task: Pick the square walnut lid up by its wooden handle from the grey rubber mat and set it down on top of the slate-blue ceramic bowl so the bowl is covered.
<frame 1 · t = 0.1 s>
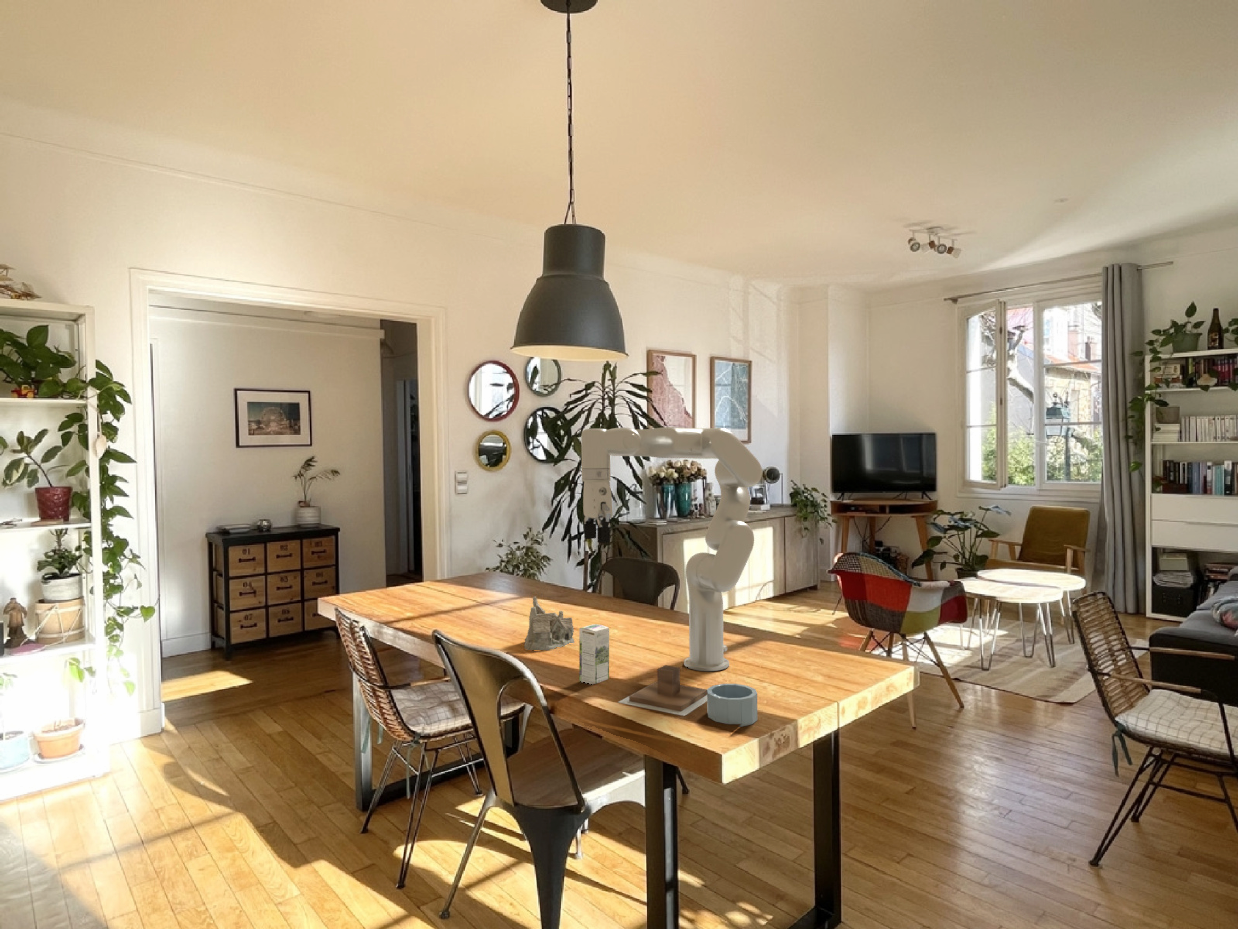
hand: (596, 540, 198), 37 cm above the table, tool pointing down, fingers open, 9 cm apart
grey mat: (668, 700, 183), on the table
syrup box: (594, 682, 198), on the table
walnut lid: (668, 697, 183), point 1 cm above the table, touching grey mat
slate bowl: (732, 717, 171), on the table
ceramic cottage: (549, 645, 237), on the table
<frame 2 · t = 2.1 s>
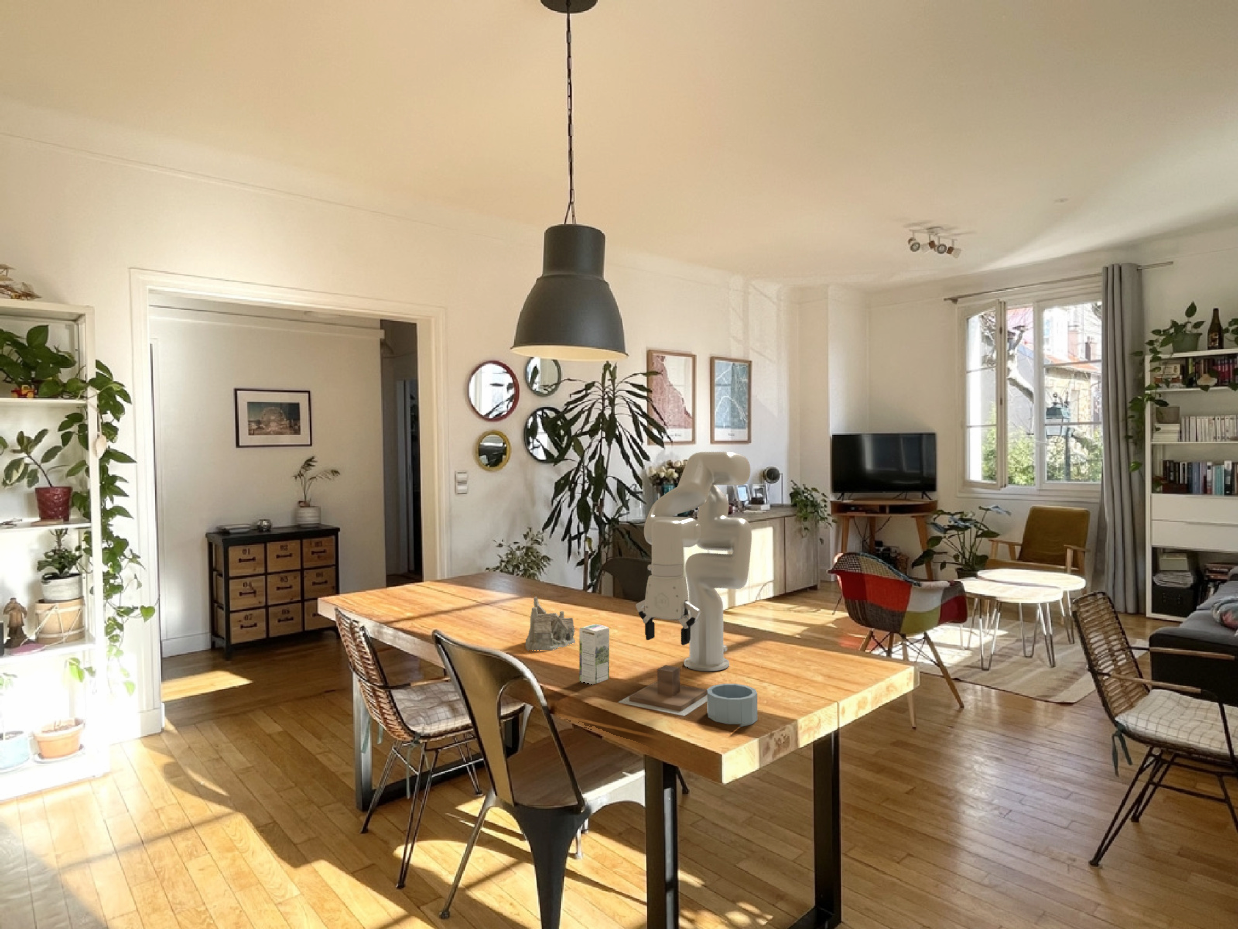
hand: (667, 641, 182), 14 cm above the table, tool pointing down, fingers open, 9 cm apart
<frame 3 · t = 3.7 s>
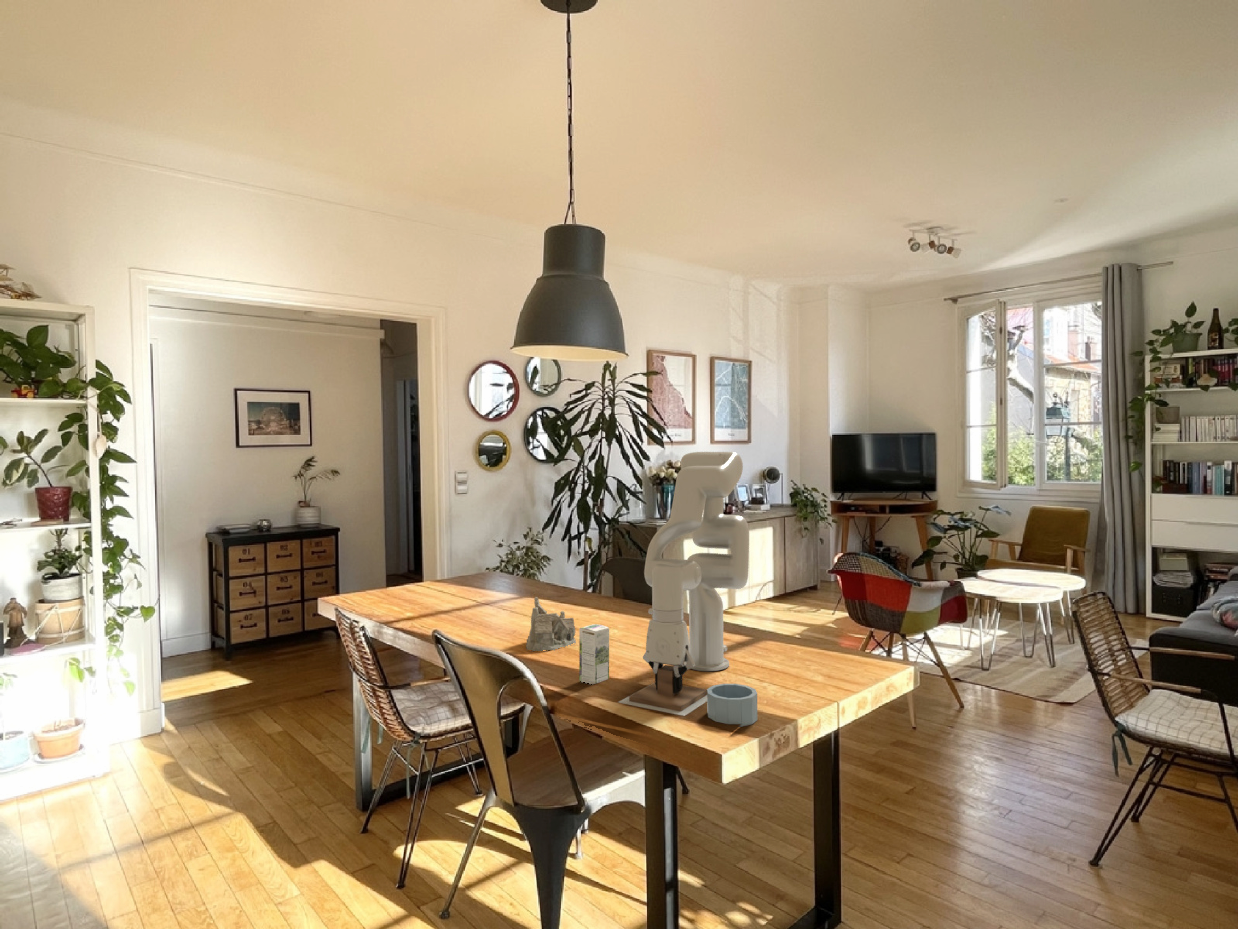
hand: (668, 689, 183), 3 cm above the table, tool pointing down, fingers closed on walnut lid, 4 cm apart
walnut lid: (668, 697, 183), point 1 cm above the table, touching grey mat, gripper
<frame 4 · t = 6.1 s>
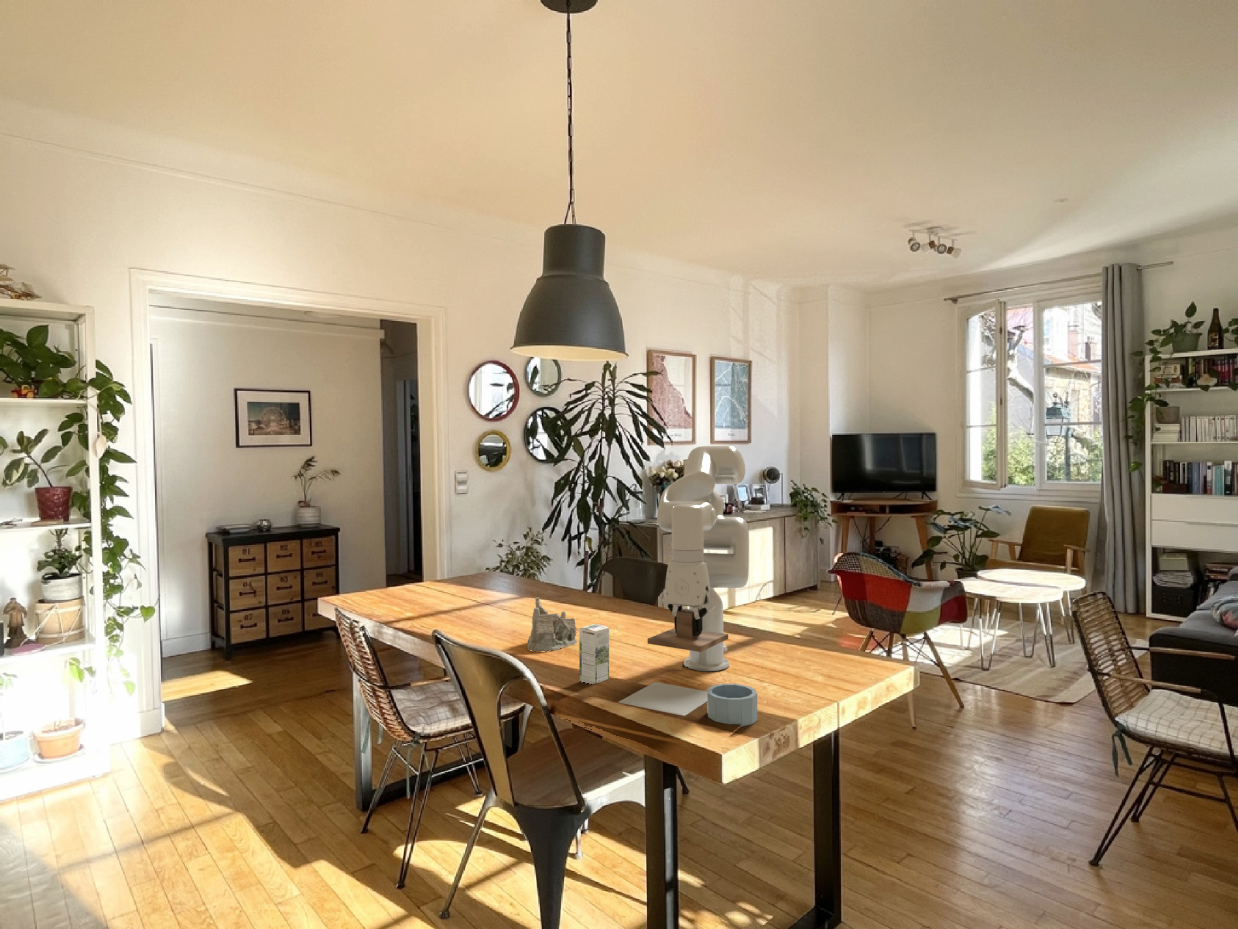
hand: (688, 632, 178), 18 cm above the table, tool pointing down, fingers closed on walnut lid, 4 cm apart
walnut lid: (688, 641, 178), point 15 cm above the table, touching gripper
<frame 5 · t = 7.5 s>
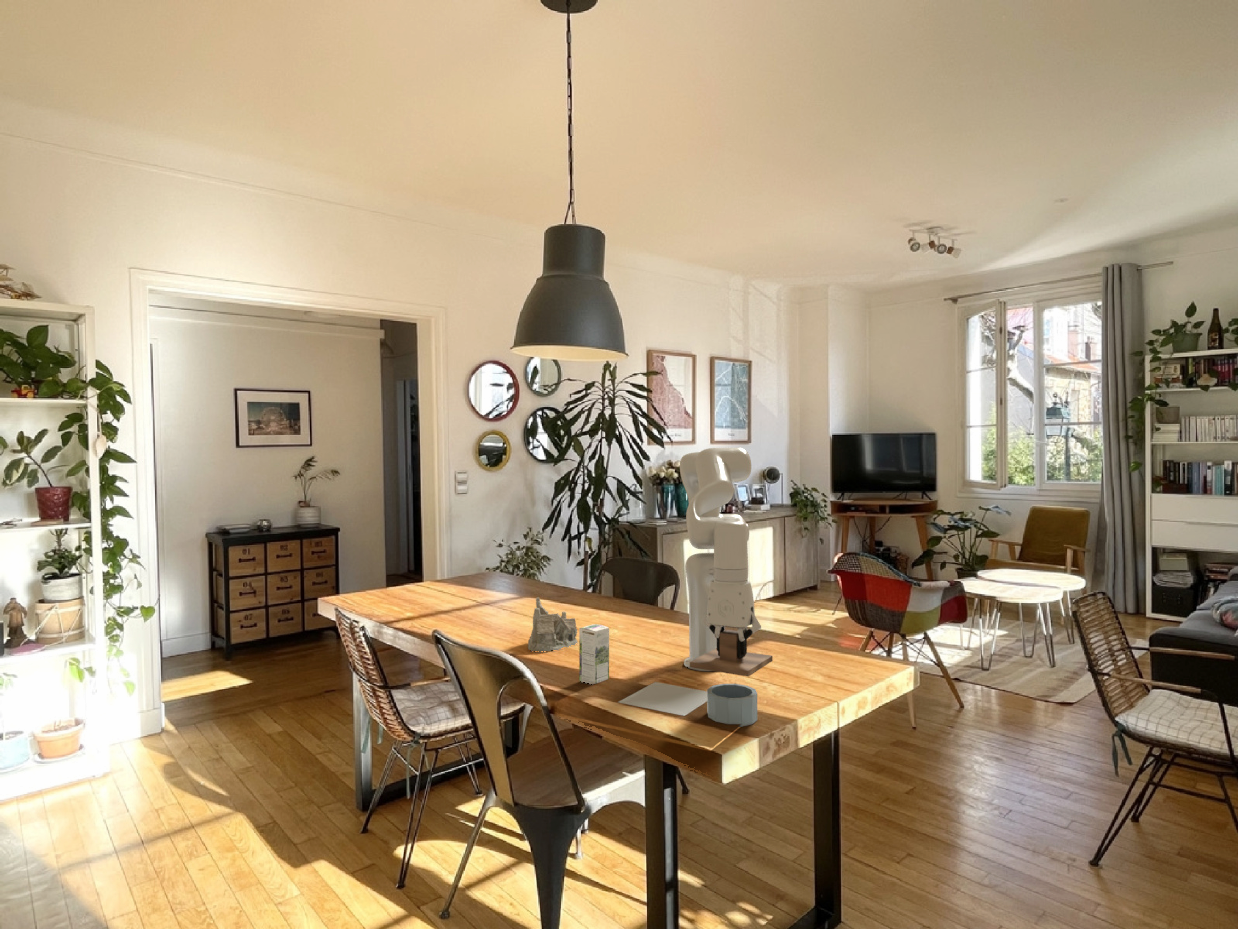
hand: (731, 655, 170), 14 cm above the table, tool pointing down, fingers closed on walnut lid, 4 cm apart
walnut lid: (731, 664, 170), point 12 cm above the table, touching gripper
when the fingers open (9 cm above the table, at t = 8.6 s): walnut lid drops 1 cm, resting on slate bowl.
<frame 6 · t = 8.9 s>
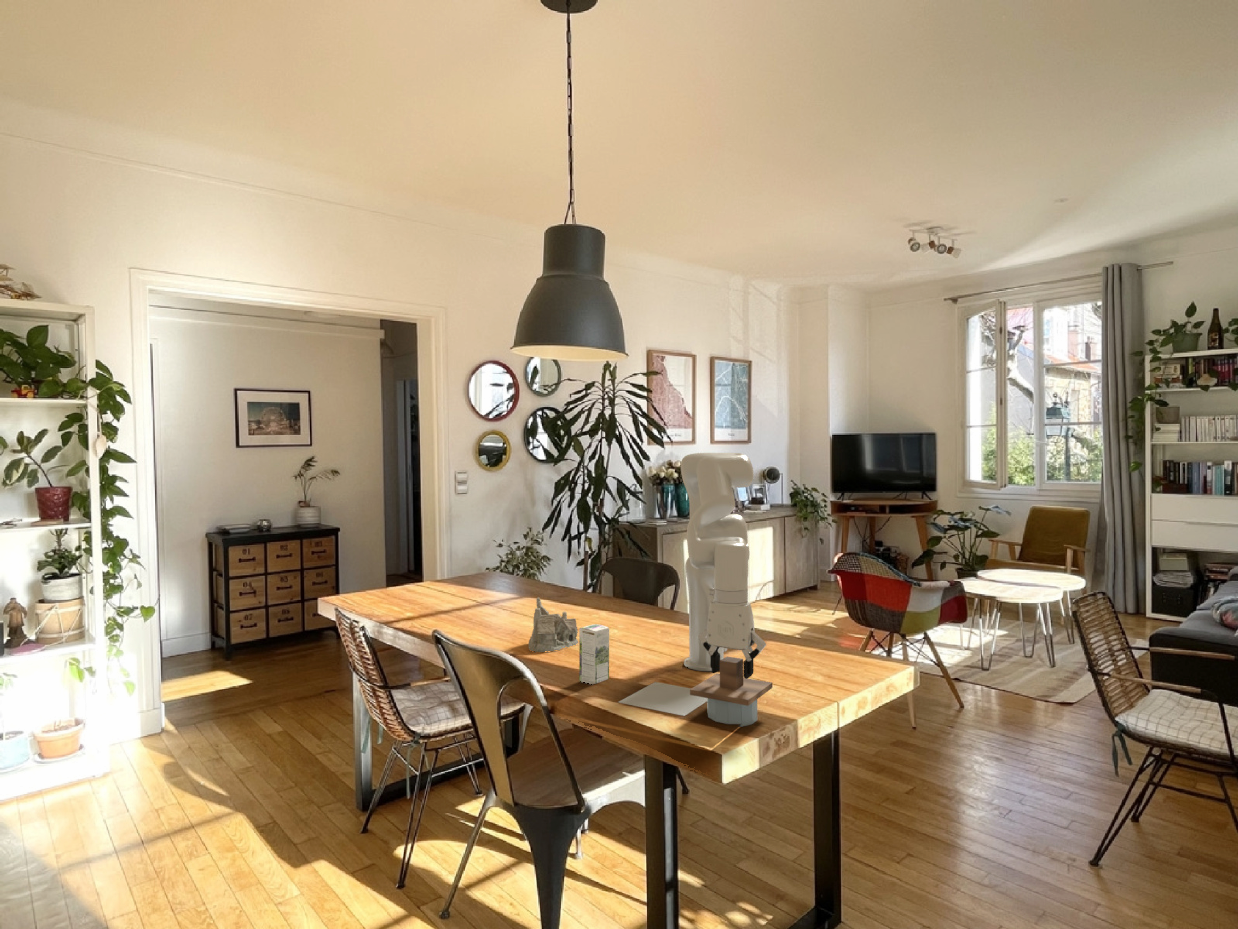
hand: (731, 673, 170), 10 cm above the table, tool pointing down, fingers open, 7 cm apart
walnut lid: (731, 691, 171), point 6 cm above the table, touching slate bowl
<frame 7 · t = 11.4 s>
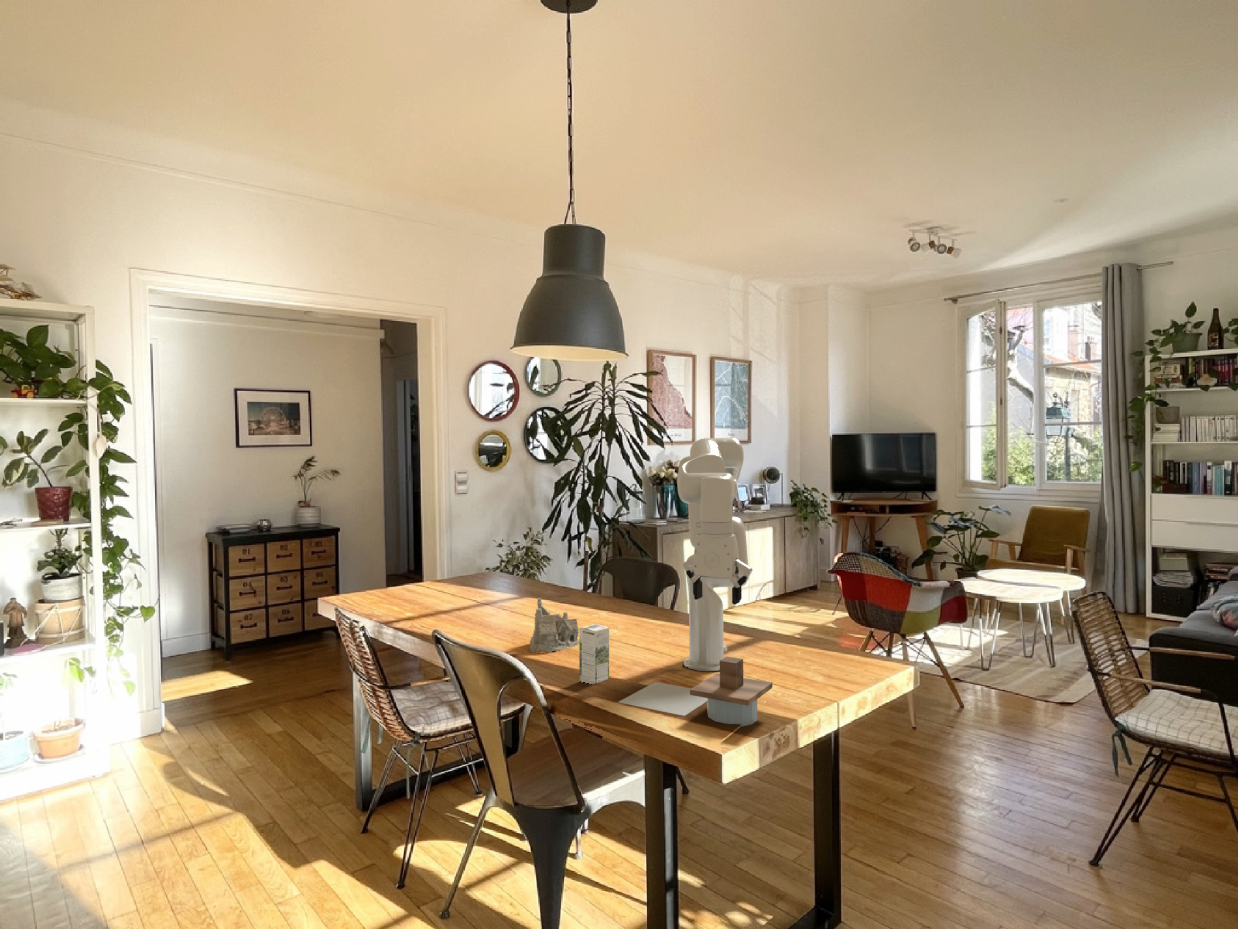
hand: (717, 600, 177), 25 cm above the table, tool pointing down, fingers open, 9 cm apart
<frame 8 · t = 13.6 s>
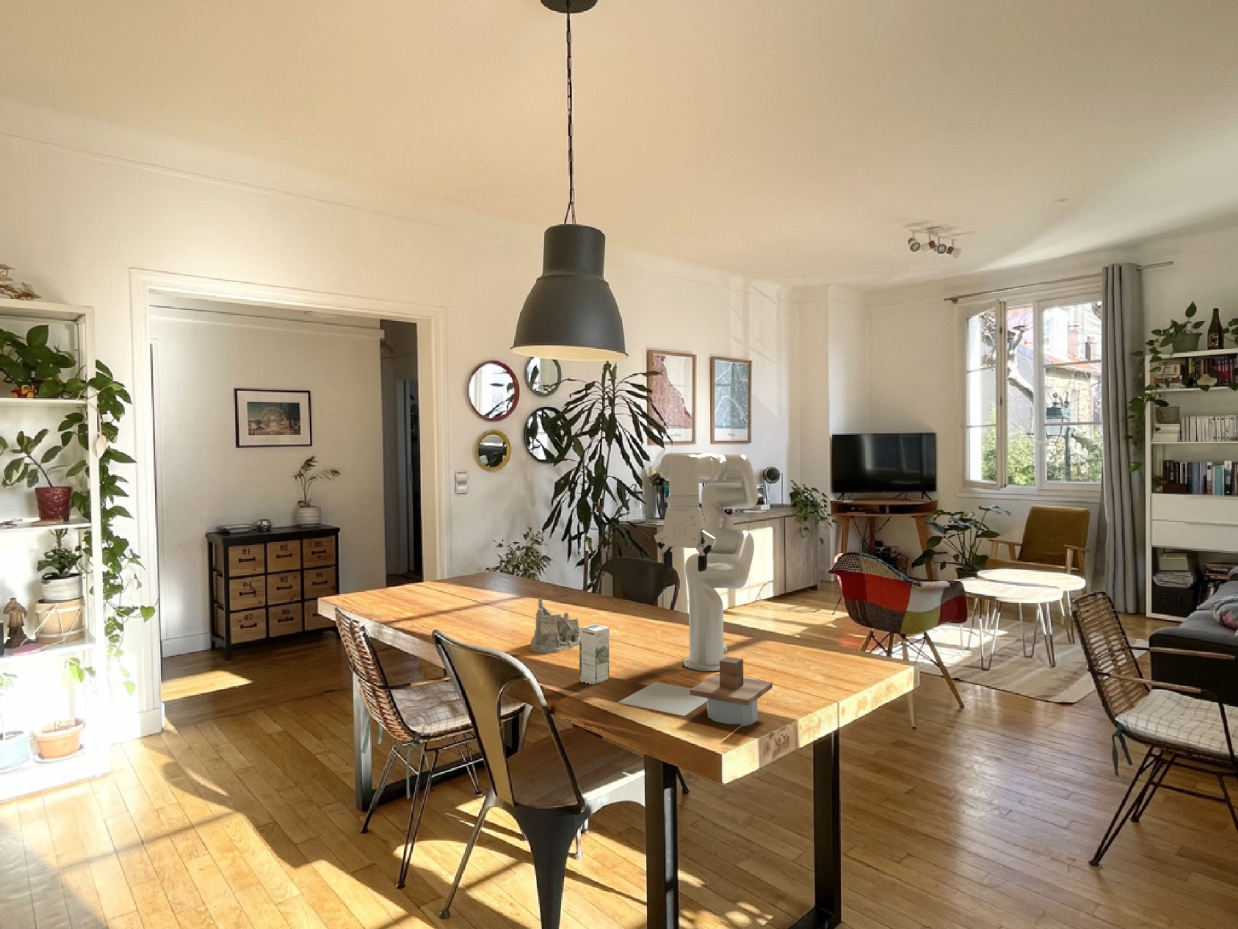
hand: (685, 569, 192), 30 cm above the table, tool pointing down, fingers open, 9 cm apart
at the end: walnut lid 0.1 cm from the slate bowl (horizontally); walnut lid point 6.0 cm above the table; walnut lid tilted 0° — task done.
